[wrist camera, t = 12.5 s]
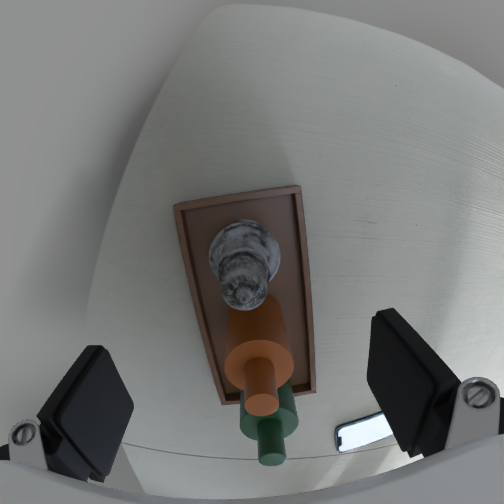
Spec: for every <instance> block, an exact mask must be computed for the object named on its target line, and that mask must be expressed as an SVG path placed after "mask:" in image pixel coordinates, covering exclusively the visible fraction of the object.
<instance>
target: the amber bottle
mask: <svg viewBox="0 0 504 504" xmlns="http://www.w3.org/2000/svg"><path fill="white" fill-rule="evenodd" d="M293 369H294V361H293V357H292V353H291V349H290V344H289V340H288V336H287V332H286V328H285V324H284V320H283V316H282V312H281V309H280V306H279V303H278V302H277V300H276V299H275V298H274V297H273V296H271V295H270V294H268V293H267V295H266V298H265V300H264V301H263V303H262V304H261V305H259V306H258V307H256V308H254V309H251V310H238V309H235V308H233V307H231V308H230V314H229V323H228V333H227V342H226V351H225V361H224V371H225V374H226V377H227V378H228V380H229V381H230V382H231V383H232V384H233V385H234V386H236V387H237V388H239V389H241V390H244V407H245V409H246V411H247V412H248V413H250V414H252V415H255V416H267V415H270V414H272V413H274V412H275V411H276V410H277V409H278V407H279V399H278V392H277V388H279V387H280V386H282V385H283V384H284V383H286V382H287V381H288V379H289V378H290V377H291V375H292V372H293Z"/></svg>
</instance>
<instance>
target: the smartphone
mask: <svg viewBox="0 0 504 504" xmlns="http://www.w3.org/2000/svg"><path fill="white" fill-rule="evenodd" d="M335 434H336V449H337V452H339V453H343V452H346V451H349V450H352V449H356V448H359V447H362V446H365V445H367V444H370V443H373V442H376V441H379V440H381V439H384V438H386V437H389V436H391V435H394V434H393V432H392V430H391V428H390V426H389V424H388V422H387V420H386V418H385V416H384V414H383V412H381V413H378V414H376V415H373V416H370V417H367V418H364V419H361V420H358V421H355V422H352V423H349V424H346V425H342V426H340V427H338V428H337V429H336V431H335Z"/></svg>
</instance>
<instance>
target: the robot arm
mask: <svg viewBox="0 0 504 504" xmlns="http://www.w3.org/2000/svg"><path fill="white" fill-rule="evenodd" d="M367 382H368V385H369V387H370V389H371V391H372V393H373V394H374V396H375V398H376V400H377V402H378V404H379V406H380V408H381V410H382V412H383V414H384V416H385V418H386V420H387V422H388V424H389V426H390V428H391V430H392V432H393V434H394V436H395V438H396V440H397V442H398V444H399V446H400V448H401V450H402V451H403V452H406V451H407V452H408V455H409V457H410V458H412V457H414V456H417V455H419V454H421V453H422V454H423V456H424V458H423V459H420V460H418V461H415V462H413V463H410V464H407V465H405V466H402V467H399V468H397V469H394V470H391V471H388V472H385V473H382V474H378V475H375V476H372V477H368V478H365V479H362V480H358V481H354V482H351V483H347V484H343V485H339V486H334V487H330V488H325V489H320V490H315V491H310V492H304V493H298V494H291V495H283V496H274V497H264V498H251V499H225V500H212V499H186V498H173V497H163V496H154V495H147V494H140V493H133V492H128V491H122V490H118V489H113V488H108V487H104V486H99V485H96V484H91V483H88V482H87V479H88V477H89V478H90V479H91V480H95V481H99V482H104V479H105V476H108V475H109V473H110V471H111V468H112V465H113V462H114V460H115V457H116V454H117V451H118V449H119V446H120V443H121V441H122V438H123V435H124V433H125V430H126V427H127V425H128V422H129V420H130V417H131V415H132V412H133V409H134V404H133V401H132V399H131V397H130V395H129V393H128V391H127V389H126V387H125V385H124V383H123V381H122V379H121V377H120V375H119V373H118V371H117V369H116V367H115V365H114V362H113V360H112V358H111V356H110V353H109V352H108V350H107V349H105V348H104V347H103V346H101V345H89V346H87V347H86V348H85V349H84V351H83V352H82V353H81V355H80V356H79V357H78V358H77V360H76V361H75V362H74V364H73V365H72V367H71V368H70V369H69V371H68V372H67V373H66V375H65V376H64V377H63V379H62V380H61V381H60V383H59V384H58V386H57V387H56V388H55V390H54V391H53V393H52V394H51V395H50V397H49V398H48V400H47V401H46V403H45V404H44V406H43V407H42V408H41V410H40V412H39V413H38V414H37V418H38V419H39V420H40V422H41V424H40V425H38V424H37V423H36V422H35V421H33V420H28V419H27V420H22V421H21V422H18V423H17V424H16V425H14V426H13V428H12V429H11V431H10V433H9V438H8V439H9V443H8V444H6V445H3V446H1V447H0V504H504V398H502V397H500V392H499V389H498V387H497V385H496V384H494V383H493V382H492V381H491V380H489V379H487V378H482V377H473V378H469V379H467V380H465V381H463V382H461V381H460V380H459V379H458V378H457V376H456V375H455V374H454V373H453V372H452V371H451V369H450V368H449V367H448V366H447V365H446V364H445V363H444V361H443V360H442V359H441V358H440V357H439V356H438V355H437V354H436V353H435V351H434V350H433V349H432V348H431V347H430V346H429V345H428V344H427V343H426V342H425V341H424V339H423V338H422V337H421V336H420V335H419V334H418V333H417V332H416V331H415V330H414V329H413V328H412V327H411V326H410V325H409V323H408V322H407V321H406V320H405V319H404V318H403V317H402V316H401V315H400V314H399V313H398V312H397V311H396V310H395V309H394V308H389V309H385V310H380V311H377V313H376V316H373V317H372V320H371V335H370V348H369V359H368V368H367Z"/></svg>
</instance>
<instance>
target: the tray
mask: <svg viewBox="0 0 504 504" xmlns="http://www.w3.org/2000/svg"><path fill="white" fill-rule="evenodd" d="M173 208H174V213H175V219H176V224H177V229H178V234H179V240H180V244H181V249H182V254H183V259H184V264H185V268H186V273H187V277H188V282H189V286H190V290H191V295H192V299H193V303H194V307H195V311H196V315H197V319H198V323H199V327H200V331H201V335H202V339H203V342H204V346H205V350H206V354H207V357H208V361H209V364H210V368H211V371H212V375H213V378H214V381H215V385H216V388H217V391H218V395H219V398H220V401H221V404H222V405H230V404H240V389H239V388H237V387H236V386H234V385H233V384H232V383H231V382H230V381H229V380H228V378H227V377H226V374H225V371H224V361H225V351H226V342H227V333H228V323H229V314H230V308H231V306H230V305H228V304H227V303H226V302H225V300H224V299H223V297H222V294H221V291H220V284H221V282H220V281H219V280H218V279H217V278H216V277H215V275H214V273H213V272H212V270H211V267H210V263H209V250H210V246H211V243H212V241H213V240H214V238H215V236H216V235H217V234H218V233H219V232H220V231H221V230H222V229H223V228H225V227H226V226H227V225H228V224H230V223H232V222H234V221H237V220H241V219H249V220H253V221H256V222H258V223H260V224H261V225H263V226H264V227H265V228H266V229H267V230H268V231H269V232H270V233H271V234H272V235H273V236H274V237H275V239H276V241H277V243H278V245H279V249H280V254H281V255H280V265H279V268H278V271H277V273H276V274H275V276H274V277H273V279H272V280H270V281H269V283H268V292H267V293H268V294H270V295H271V296H273V297H274V298H275V299H276V300H277V302H278V303H279V306H280V309H281V312H282V316H283V320H284V324H285V328H286V332H287V336H288V340H289V344H290V349H291V353H292V357H293V361H294V369H293V372H292V375H291V377H290V382H291V387H292V391H293V396H294V397H295V396H301V395H307V394H312V393H316V372H315V346H314V326H313V310H312V295H311V282H310V270H309V258H308V247H307V237H306V228H305V219H304V210H303V201H302V193H301V186H298V185H293V186H285V187H277V188H269V189H262V190H255V191H248V192H241V193H234V194H228V195H222V196H216V197H210V198H204V199H198V200H192V201H187V202H181V203H177V204H175V205H173Z"/></svg>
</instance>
